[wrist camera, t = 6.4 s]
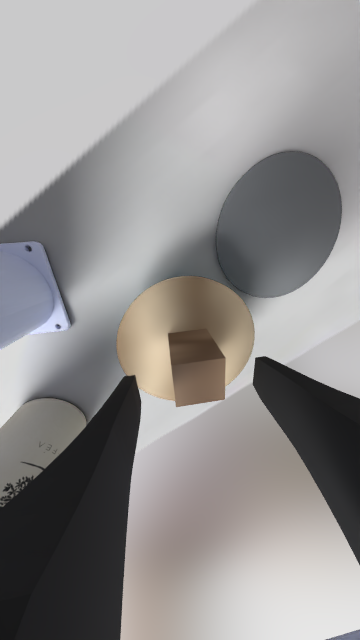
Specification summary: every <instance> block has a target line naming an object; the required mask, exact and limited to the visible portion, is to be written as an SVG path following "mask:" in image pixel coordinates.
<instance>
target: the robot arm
mask: <svg viewBox="0 0 360 640" xmlns="http://www.w3.org/2000/svg"><path fill="white" fill-rule="evenodd" d="M29 246H31V248H32V251H29V249H28V247H29ZM57 324H59V325H60V326H61V327H58V325H57ZM70 327H71V324H70V321H69V318H68V315H67V312H66V310H65V307H64V304H63V301H62V298H61V295H60V292H59V290H58V287H57V284H56V281H55V278H54V275H53V272H52V270H51V267H50V264H49V261H48V258H47V255H46V252H45V249H44V247H43V245H42V244H41V243H39V242H34V241H31V242H18V243H4V244H0V350H1V349H3V348H4V347H6V346H8V345H10V344H11V343H13V342H15V341H17V340H18V339H20V338H22V337H23V336H25V335H31V334H39V333H48V332H56V331H65V330H68V329H69V328H70ZM253 386H254V388H255V389H256V391H257V393H258V395H259V397H260V399H261V400H262V402H263V403H264V405H265V406H266V408H267V409H268V410H269V412H270V413H271V415H272V416H273V417H274V419H275V420H276V421H277V423H278V424H279V426H280V427H281V428H282V430H283V431H284V433H285V434H286V435H287V437H288V438H289V440H290V441H291V443H292V444H293V446H294V447H295V449H296V450H297V452H298V454H299V455H300V457H301V459H302V460H303V462H304V463H305V465H306V467H307V469H308V470H309V472H310V473H311V475H312V477H313V479H314V481H315V482H316V484H317V486H318V488H319V489H320V491H321V493H322V495H323V496H324V498H325V500H326V502H327V504H328V505H329V507H330V509H331V511H332V513H333V515H334V517H335V518H336V520H337V522H338V524H339V526H340V528H341V530H342V531H343V533H344V535H345V537H346V539H347V541H348V543H349V545H350V547H351V549H352V551H353V553H354V555H355V557H356V559H357V561H358V563H359V565H360V399H359V398H356V397H354V396H351V395H349V394H346V393H344V392H341V391H338V390H336V389H334V388H331V387H329V386H327V385H324V384H322V383H320V382H318V381H316V380H314V379H311V378H309V377H307V376H305V375H303V374H301V373H299V372H297V371H295V370H293V369H291V368H288V367H287V366H285V365H283V364H281V363H279V362H277V361H274V360H272V359H270V358H268V357H266V356H264V357H257V358H255V368H254V377H253ZM140 416H141V399H140V394H139V390H138V385H137V381H136V376H135V375H131V376H124V378H123V379H122V380H121V382H120V383H119V384H118V386H117V387H116V389H115V390H114V391H113V393H112V394H111V395H110V397H109V398H108V399H107V401H106V402H105V403H104V405H103V406H102V407H101V409H100V410H99V411H98V412H97V414H96V415H95V416H94V417H93V418H92V420H91V421H90V422H89V423H88V424H87V426H86V427H85V428H84V429H83V430H82V431H81V432H80V434H79V435H78V436H77V437H76V438H75V439H74V440H73V441H72V442H71V443H70V444H69V445H68V446H67V448H66V449H65V450H64V451H63V452H62V453H61V454H60V455H59V456H58V457H56V458H55V459H54V460H53V461H52V462H51V463H50V464H49V465H48V466H47V467H46V468H45V469H44V470H43V471H42V472H41V473H40V474H39V475H38V476H37V477H36V478H35V479H33V480H32V481H31V482H30V483H29V484H28V485H27V486H26V487H25V488H24V489H22V490H21V491H20V492H19V493H18V494H17V495H16V496H15V497H13V498H12V499H11V500H10V501H9V502H8V503H6V504H5V505H4V506H3V507H2V508H1V509H0V640H120V633H121V615H122V596H123V595H122V594H123V577H124V561H125V547H126V532H127V519H128V507H129V495H130V483H131V475H132V468H133V462H134V456H135V450H136V443H137V437H138V431H139V425H140ZM326 640H360V630H356V631H353V632H350V633H346V634H343V635H340V636H336V637H333V638H330V639H326Z"/></svg>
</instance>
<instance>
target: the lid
mask: <svg viewBox="0 0 360 640" xmlns="http://www.w3.org/2000/svg"><path fill="white" fill-rule="evenodd" d="M254 332H255V331H254V323H253V320H252V316H251V314H250V312H249V309H248V308H247V306H246V304H245V303H244V301H243V300H242V299H241V298H240V297H239V296H238V295H237V294H236V293H235V292H234V291H232V290H231V289H230V288H228V287H226V286H225V285H223V284H221V283H218V282H216V281H213V280H211V279H207V278H203V277H197V276H180V277H174V278H170V279H167V280H163V281H161V282H159V283H157V284H154V285H153V286H151V287H149V288H148V289H146V290H145V291H144V292H142V293H141V294H140V295H139V296H138V297H137V298H136V299H135V300H134V301H133V302H132V304H131V305H130V307H129V308H128V310H127V311H126V313H125V314H124V316H123V318H122V321H121V323H120V326H119V329H118V333H117V340H116V341H117V354H118V359H119V361H120V364H121V367H122V368H123V370H124V372H125V374H126V375H127V376H131V375H135V376H136V381H137V385H138V387H139V388H140V389H141V390H143V391H145V392H146V393H148V394H150V395H153V396H155V397H158V398H161V399H166V400H173V401H175V402H176V407H180V406H186V405H193V404H199V403H205V402H212V401H218V400H224V399H225V386H227V385H228V384H229V383H231V382H232V381H233V380H234V379H235V378H236V377H237V376H238V375H239V374H240V372H241V371H242V370H243V368H244V367H245V365H246V363H247V362H248V360H249V357H250V355H251V352H252V349H253V345H254Z"/></svg>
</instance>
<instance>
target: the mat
mask: <svg viewBox="0 0 360 640" xmlns="http://www.w3.org/2000/svg"><path fill="white" fill-rule="evenodd" d="M341 214H342V204H341V196H340V191H339V188H338V184H337V182H336V180H335V178H334V176H333V174H332V173H331V171H330V170H329V168H328V167H327V166H326V165H325V164H324V163H323V162H322V161H320V160H319V159H318V158H316V157H314V156H312V155H310V154H307V153H303V152H294V151H290V152H282V153H279V154H275V155H272V156H270V157H268V158H266V159H264V160H262V161H261V162H259V163H258V164H256V165H255V166H253V167H252V168H251V169H250V170H249V171H248V172H247V173H246V174H245V175H244V176H243V177H242V178H241V179H240V180H239V181H238V182H237V183H236V185H235V186H234V187H233V189H232V190H231V192H230V193H229V195H228V197H227V199H226V201H225V203H224V205H223V208H222V210H221V213H220V217H219V220H218V225H217V231H216V249H217V255H218V259H219V262H220V266H221V268H222V270H223V272H224V274H225V275H226V277H227V278H228V280H229V281H230V282H231V283H232V284H233V285H234V286H235V287H237V288H238V289H239V290H241V291H243V292H245V293H247V294H250V295H252V296H256V297H262V298H273V297H278V296H282V295H285V294H288V293H290V292H293V291H295V290H296V289H298V288H300V287H301V286H303V285H304V284H305V283H307V282H308V281H309V280H310V279H311V278H312V277H313V276H314V275H315V274H316V273H317V272H318V271H319V270H320V268H321V267H322V266H323V264H324V263H325V261H326V260H327V258H328V257H329V255H330V253H331V251H332V249H333V247H334V244H335V242H336V239H337V236H338V233H339V229H340V223H341Z"/></svg>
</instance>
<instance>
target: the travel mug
mask: <svg viewBox="0 0 360 640" xmlns="http://www.w3.org/2000/svg"><path fill="white" fill-rule="evenodd" d="M86 425H87V423H86V418H85V416H84V414H83V413H82V412H81V411H80V410H79V409H78V408H77V407H76V406H74V405H72V404H70V403H68V402H66V401H63V400H59V399H52V398H42V399H36V400H32V401H29V402H27V403H25V404H24V405H22V406H21V407H20V408H19V409H18V410H17V411H16V412H15V413H14V414H13V416H12V417H11V418H10V419H9V420H8V421H7V422H6V423H5V424H4V425H3V426H2V427H1V428H0V509H1V508H2V507H3V506H4V505H5V504H6V503H8V502H9V501H10V500H11V499H12V498H13V497H15V496H16V495H17V494H18V493H19V492H20V491H21V490H22V489H24V488H25V487H26V486H27V485H28V484H29V483H30V482H31V481H32V480H33V479H35V478H36V477H37V476H38V475H39V474H40V473H41V472H42V471H43V470H44V469H45V468H46V467H47V466H48V465H49V464H50V463H51V462H52V461H53V460H54V459H55V458H56V457H58V456H59V455H60V454H61V453H62V452H63V451H64V450H65V449H66V448H67V446H68V445H69V444H70V443H71V442H72V441H73V440H74V439H75V438H76V437H77V436H78V435H79V434H80V432H81V431H82V430H83V429H84V428H85V427H86Z"/></svg>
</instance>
